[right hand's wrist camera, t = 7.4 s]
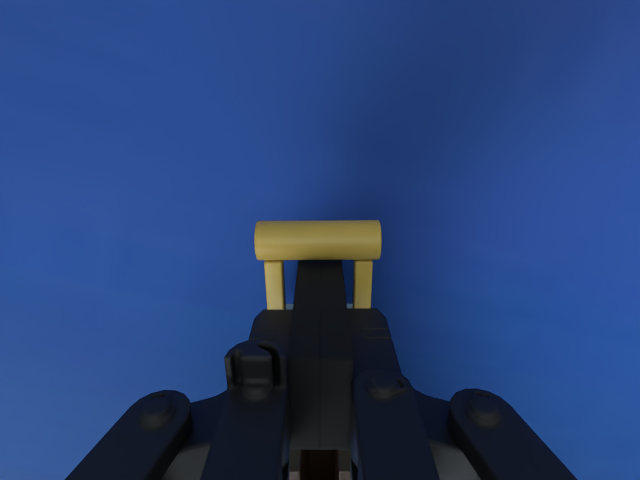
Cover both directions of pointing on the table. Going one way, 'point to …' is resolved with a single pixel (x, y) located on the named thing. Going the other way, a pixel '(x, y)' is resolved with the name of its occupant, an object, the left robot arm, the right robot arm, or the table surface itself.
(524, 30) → the table surface
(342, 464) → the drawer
